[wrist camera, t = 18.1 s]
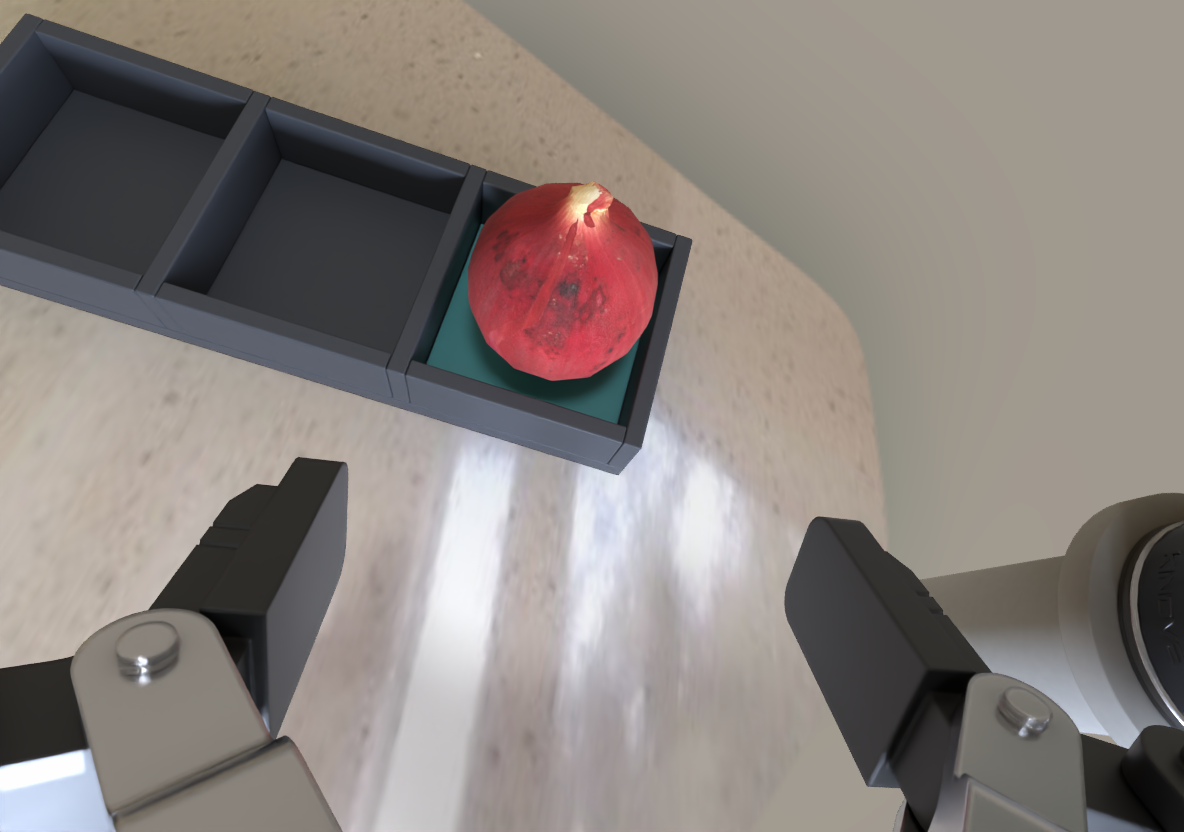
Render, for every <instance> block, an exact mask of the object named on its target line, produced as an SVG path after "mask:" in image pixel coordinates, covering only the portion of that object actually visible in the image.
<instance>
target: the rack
mask: <svg viewBox="0 0 1184 832" xmlns="http://www.w3.org/2000/svg"><path fill="white" fill-rule="evenodd" d="M535 187H536V186H533V185H530V184H527V183H524V182H521V181H518V180H515V179H513V178H510V177H507V176H504V175H501V174H498V173H495V172H492V171H487V170H486V169H483V168H480V167H477V166H474V165H471V166H470V164H468V163H465V162H462V161H459V160H457V159H454V158H451V157H448V156H445V155H442V154H439V153H436V152H433V151H430V150H427V149H424V148H421V147H418V146H415V145H412V144H409V143H406V142H404V141H401V140H398V139H395V138H392V137H389V136H386V135H383V134H380V133H377V132H374V131H371V130H368V129H365V128H362V127H359V126H356V125H353V124H350V123H348V122H345V121H342V120H339V119H336V118H333V117H330V116H327V115H324V114H321V113H318V112H315V111H312V110H309V109H306V108H303V107H300V106H297V105H294V104H292V103H289V102H286V101H283V100H280V99H277V98H274V97H272V98H271V97H270V96H268V95H265V94H262V93H259V92H256V91H253V90H251V89H248V88H245V87H242V86H239V85H237V84H234V83H231V82H228V81H225V80H222V79H219V78H216V77H213V76H210V75H207V74H204V73H201V72H198V71H195V70H192V69H189V68H186V67H184V66H181V65H178V64H175V63H172V62H169V61H166V60H163V59H160V58H157V57H154V56H151V55H148V54H145V53H142V52H139V51H136V50H133V49H130V48H128V47H125V46H122V45H119V44H116V43H113V42H110V41H107V40H104V39H101V38H98V37H95V36H92V35H89V34H86V33H83V32H80V31H77V30H75V29H72V28H69V27H66V26H63V25H60V24H57V23H54V22H51V21H48V20H43V19H42V18H39V17H36V16H33V15H30V14H25V15H24V16H23V17H22V18H21V20H20V21H19V22H18V23H17V25H16V26H15V27H14V28H13V29H12V31H11V32H10V33H9V34H8V36H7V37H6V38H5V39H4V41H3V42H2V43H1V44H0V285H3V286H6V287H9V288H13V289H16V290H19V291H22V292H26V293H29V294H32V295H35V296H39V297H42V298H45V299H48V300H52V301H55V302H58V303H61V304H65V305H68V306H71V307H74V308H78V309H81V310H84V311H87V312H91V313H94V314H97V315H100V316H104V317H107V318H110V319H113V320H117V321H120V322H123V323H126V324H130V325H133V326H136V327H139V328H143V329H146V330H149V331H152V332H155V333H159V334H162V335H165V336H168V337H172V338H175V339H178V340H181V341H185V342H188V343H191V344H194V345H198V346H201V347H204V348H207V349H211V350H214V351H217V352H220V353H224V354H227V355H230V356H233V357H237V358H240V359H243V360H246V361H250V362H253V363H256V364H259V365H263V366H266V367H269V368H272V369H276V370H279V371H282V372H285V373H289V374H292V375H295V376H298V377H302V378H305V379H308V380H311V381H315V382H318V383H321V384H324V385H328V386H331V387H334V388H337V389H341V390H344V391H347V392H350V393H353V394H357V395H360V396H363V397H366V398H370V399H373V400H376V401H379V402H383V403H386V404H389V405H392V406H396V407H399V408H402V409H405V410H409V411H412V412H415V413H418V414H422V415H425V416H428V417H431V418H435V419H438V420H441V421H444V422H448V423H451V424H454V425H457V426H461V427H464V428H467V429H470V430H474V431H477V432H480V433H483V434H487V435H490V436H493V437H496V438H500V439H503V440H506V441H509V442H513V443H516V444H519V445H522V446H526V447H529V448H532V449H535V450H539V451H542V452H545V453H548V454H551V455H555V456H558V457H561V458H564V459H568V460H571V461H574V462H577V463H581V464H584V465H587V466H590V467H594V468H597V469H600V470H603V471H607V472H610V473H613V474H616V475H619V474H620V473H621V471H622V470H623V469H624V468H625V467H626V465H627V464H628V463H629V462H630V461H631V460H632V459H633V457H634V456H635V455H636V454H637V453H638V452H639V450H640V449H641V447H642V443H643V439H644V435H645V431H646V427H647V423H648V419H649V415H650V411H651V407H652V403H653V399H654V395H655V391H656V387H657V383H658V378H659V374H660V370H661V366H662V362H663V358H664V354H665V350H666V346H667V342H668V338H669V334H670V330H671V326H672V322H673V318H674V314H675V310H676V306H677V301H678V297H679V293H680V289H681V285H682V281H683V277H684V273H685V269H686V265H687V261H688V257H689V253H690V249H691V245H692V239H690V238H687V237H684V236H681V235H677V236H676V234H675V233H672V232H669V231H666V230H663V229H660V228H657V227H654V226H651V225H648V224H645V223H642V222H640V223H641V224H642V226H643V227H644V228H645V230H646V231H647V232H648V234H649V236H650V238H651V240H652V244H653V249H654V255H655V261H656V266H657V272H658V285H657V290H656V296H655V301H654V306H653V312H652V316H651V318H650V321H649V323H648V325H647V327H646V328H645V330H644V331H643V333H642V334H641V335H640V337H639V338H638V339H637V341H636V342H635V343H634V345H633V346H632V347H631V349H630V350H629V351H628V353H627V354H626V355H624V356H622V357H621V358H619V359H618V360H616V361H614V362H613V363H611V364H609V365H608V366H606V367H605V368H603V369H601V370H600V371H598V372H597V373H595V374H593V375H592V376H590V377H588V378H577V379H566V380H556V381H551V380H548V379H545V378H542V377H539V376H536V375H533V374H530V373H527V372H524V371H521V370H517V369H514V368H513V367H512V366H511V365H510V364H509V363H508V362H507V361H506V360H505V359H504V358H502V357H501V356H500V355H499V354H498V353H497V352H496V351H495V350H494V349H493V348H492V347H490V346H489V345H488V344H487V343H486V341H485V338H484V336H483V334H482V332H481V330H480V328H479V326H478V324H477V322H476V319H475V317H474V315H473V313H472V310H471V307H470V303H469V298H468V267H469V263H470V259H471V255H472V253H473V250H474V247H475V245H476V242H477V240H478V237H479V234H480V232H481V229H482V228H483V226H484V224H485V223H486V221H487V220H488V218H489V217H490V216H491V215H492V214H494V213H495V212H496V211H497V210H498V209H499V208H500V207H501V206H502V205H503V204H504V203H505V202H506V201H508V200H509V199H510V198H511V197H513V196H514V195H516V194H517V193H520V192H523V191H526V190H529V189H532V188H535Z"/></svg>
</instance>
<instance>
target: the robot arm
mask: <svg viewBox="0 0 1184 832" xmlns="http://www.w3.org/2000/svg"><path fill="white" fill-rule="evenodd" d="M347 501H348V466H347V464H346V463H345V462H337V461H328V460H319V459H311V458H302V457H298V458H296V459H295V461H294V462H293V463H292V465H291V467H290V468H289V470H288V471H287V473H286V474H285V476H284V477H283V479H282V481H281V482H280V484H279V485H278V486H270V485H261V484H256V485H254V486H253V487H251V488H250V489H248V490H246V491H245V492H243V493H241V494H240V495H238V496H236V497H235V498H233V499H231V500H230V501H229V502H228V503H227V504H226V506H225V507H224V508H223V510H222V511H221V513H220V514H219V515H218V517H217V518H216V519H215V521H214V522H213V526H212V527H211V526H210V527H209V529H208V530H207V531H206V533H205V534H204V535H203V537H202V538H201V539H200V544H199V545H196V546H195V548H194V549H193V550H192V552H191V553H190V554H189V556H188V557H187V558H186V560H185V561H184V562H183V564H182V565H181V566H180V568H179V569H178V571H177V572H176V573H175V575H174V576H173V577H172V579H171V580H170V581H169V583H168V584H167V585H166V587H165V588H164V589H163V591H162V592H161V593H160V595H159V596H158V598H157V599H156V600H155V602H154V603H153V604H152V606H151V607H150V608H149V610H147V611H143V612H139V613H135V614H131V615H129V616H126V617H123V618H120V619H118V620H116V621H114V622H112V623H110V624H108V625H106V626H105V627H103V628H101V629H99V630H98V631H97V632H95V633H94V634H93V635H91V636H90V637H89V638H88V639H87V640H86V641H85V642H84V643H83V644H82V645H81V646H80V648H79V649H78V650H77V652H76V653H75V655H74V656H72V657H68V658H64V659H58V660H53V661H47V662H41V663H34V664H27V665H21V666H14V667H8V668H1V669H0V832H342V830H341V828H340V826H339V824H338V822H337V820H336V818H335V816H334V815H333V813H332V811H331V809H330V807H329V805H328V803H327V801H326V800H325V798H324V796H323V794H322V792H321V790H320V788H319V786H318V784H317V783H316V781H315V779H314V777H313V775H312V773H311V771H310V769H309V767H308V766H307V764H306V762H305V760H304V758H303V756H302V754H301V753H300V751H299V749H298V747H297V746H296V745H295V743H294V742H293V741H292V740H291V739H290V738H289V737H288V736H282V737H280V738H278V739H276V737H277V735H278V732H279V730H280V727H281V725H282V722H283V720H284V717H285V715H286V712H287V710H288V707H289V705H290V702H291V700H292V697H293V695H294V692H295V689H296V687H297V684H298V682H299V679H300V677H301V674H302V672H303V669H304V667H305V664H306V662H307V659H308V657H309V654H310V652H311V649H312V647H313V644H314V642H315V639H316V637H317V634H318V632H319V629H320V626H321V624H322V621H323V619H324V616H325V614H326V611H327V609H328V606H329V604H330V601H331V599H332V596H333V594H334V591H335V589H336V586H337V584H338V581H339V578H340V575H341V571H342V567H343V562H344V556H345V549H346V532H347ZM785 612H786V617H787V620H788V622H789V625H790V627H791V629H792V631H793V633H794V635H795V637H796V639H797V641H798V643H799V645H800V648H801V650H802V652H803V654H804V656H805V658H806V660H807V662H808V664H809V666H810V668H811V671H812V673H813V675H814V677H815V679H816V681H817V683H818V685H819V687H820V689H821V691H822V693H823V696H824V698H825V700H826V702H827V704H828V706H829V708H830V710H831V712H832V714H833V716H834V718H835V721H836V722H837V724H838V727H839V729H840V731H841V733H842V735H843V737H844V739H845V741H846V743H847V746H848V747H849V750H850V752H851V754H852V756H853V758H854V760H855V762H856V764H857V766H858V768H859V770H860V773H861V775H862V777H863V779H864V781H865V783H866V785H867V786H868V787H869V786H870V787H889V788H901V790H902V792H903V794H904V796H905V799H904V801H903V803H902V805H901V806H900V808H899V810H898V813H897V815H896V819H895V824H894V828H893V832H1184V521H1179V522H1174V523H1169V524H1165V525H1162V526H1159V527H1157V528H1155V529H1153V530H1151V531H1150V532H1148V533H1147V534H1146V535H1144V536H1143V537H1142V538H1141V539H1140V540H1139V541H1138V542H1137V543H1136V544H1135V546H1134V547H1133V548H1132V550H1131V551H1130V553H1129V555H1128V557H1127V559H1126V561H1125V563H1124V566H1123V569H1122V572H1121V576H1120V581H1119V587H1118V619H1119V625H1120V631H1121V635H1122V640H1123V644H1124V647H1125V650H1126V653H1127V656H1128V659H1129V661H1130V664H1131V666H1132V669H1133V671H1134V673H1135V675H1136V677H1137V679H1138V681H1139V683H1140V684H1141V686H1142V688H1143V690H1144V692H1145V693H1146V695H1147V696H1148V698H1149V699H1150V701H1151V702H1152V704H1153V705H1154V706H1155V708H1156V709H1157V710H1158V712H1159V713H1160V714H1161V715H1162V717H1163V718H1164V719H1165V720H1166V721H1167V722H1168V723H1169V725H1170V726H1171V727H1167V726H1160V725H1153V726H1148V727H1146V728H1144V729H1143V731H1142V732H1141V733H1140V735H1139V736H1138V737H1137V739H1136V740H1135V742H1134V743H1133V744H1132V746H1131V747H1130V748H1129V749H1127V748H1123V747H1120V746H1117V745H1114V744H1111V743H1108V742H1105V741H1102V740H1099V739H1095V738H1092V737H1089V736H1086V735H1083V734H1080V733H1079V731H1078V728H1077V727H1076V725H1075V724H1074V722H1073V721H1072V719H1071V718H1070V717H1069V716H1068V714H1067V713H1066V712H1065V711H1064V710H1063V709H1062V708H1061V707H1060V706H1059V705H1057V704H1056V703H1055V702H1054V701H1053V700H1052V699H1050V698H1049V697H1047V696H1046V695H1045V694H1043V693H1042V692H1040V691H1039V690H1037V689H1035V688H1034V687H1032V686H1030V685H1028V684H1026V683H1024V682H1022V681H1020V680H1017V679H1015V678H1012V677H1009V676H1006V675H1002V674H998V673H992V672H991V671H990V669H989V668H988V667H987V665H986V664H985V663H984V662H983V660H982V659H981V658H980V657H979V655H978V654H977V653H976V652H975V650H974V649H973V648H972V646H971V645H970V644H969V643H968V641H967V640H966V639H965V638H964V636H963V635H962V634H961V632H960V631H959V630H958V629H957V627H956V626H955V625H954V624H953V622H952V621H951V620H950V619H949V617H948V616H947V615H943V610H942V608H941V607H940V606H939V605H938V603H937V602H936V601H935V599H934V598H933V597H929V592H928V591H927V589H926V588H925V587H924V586H923V584H922V583H921V582H920V580H919V579H918V578H917V577H916V576H915V574H914V573H913V572H912V571H911V570H910V569H909V568H907V567H906V566H905V565H903V564H902V563H901V562H899V561H898V560H897V559H896V558H894V557H893V556H892V555H891V554H889V553H888V552H886V551H884V550H883V549H882V547H881V546H880V545H879V543H878V542H877V541H876V539H875V538H874V537H873V535H872V534H871V533H870V531H869V530H868V529H867V528H866V526H865V525H864V524H863V523H862V522H860V521H856V520H847V519H838V518H829V517H816V518H814V519H813V520H812V522H811V523H810V525H809V527H808V529H807V532H806V534H805V537H804V540H803V543H802V545H801V548H800V551H799V553H798V556H797V559H796V561H795V564H794V567H793V570H792V572H791V575H790V578H789V580H788V583H787V586H786V591H785Z"/></svg>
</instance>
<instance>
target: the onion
mask: <svg viewBox="0 0 1184 832" xmlns="http://www.w3.org/2000/svg"><path fill="white" fill-rule="evenodd" d="M657 285H658V272H657V266H656V261H655V255H654V249H653V244H652V240H651V238H650V236H649V234H648V232H647V231H646V230H645V228H644V227H643V226H642V224H641V223H640V222H639V220H638V219H637V218H636V216H635V215H634V214H633V213H632V211H631V210H630V209H629V208H628V207H627V206H625V205H624V204H623V203H621V202H620V201H618V200H616V199H615V198H614V197H612V195H611V194H610V193H609V191H608V190H607V189H606V188H604V187H603V186H601V185H600V184H598V183H596V182H594V181H593V182H590V183H588V184H585V185H584V184H581V183H552V184H545V185H541V186H538V187H535V188H532V189H529V190H526V191H523V192H520V193H517V194H516V195H514V196H513V197H511V198H510V199H509V200H508V201H506V202H505V203H504V204H503V205H502V206H501V207H500V208H499V209H498V210H497V211H496V212H495V213H494V214H492V215H491V216H490V217H489V218H488V220H487V221H486V223H485V224H484V226H483V228H482V229H481V232H480V234H479V237H478V240H477V242H476V245H475V247H474V250H473V253H472V255H471V259H470V263H469V267H468V298H469V303H470V307H471V310H472V313H473V315H474V317H475V319H476V322H477V324H478V326H479V328H480V330H481V332H482V334H483V336H484V338H485V341H486V343H487V344H488V345H489V346H490V347H492V348H493V349H494V350H495V351H496V352H497V353H498V354H499V355H500V356H501V357H502V358H504V359H505V360H506V361H507V362H508V363H509V364H510V365H511V366H512V367H513V368H514V369H517V370H521V371H524V372H527V373H530V374H533V375H536V376H539V377H542V378H545V379H548V380H551V381H556V380H566V379H577V378H588V377H590V376H592V375H593V374H595V373H597V372H598V371H600V370H601V369H603V368H605V367H606V366H608V365H609V364H611V363H613V362H614V361H616V360H618V359H619V358H621V357H622V356H624V355H626V354H627V353H628V351H629V350H630V349H631V347H632V346H633V345H634V343H635V342H636V341H637V339H638V338H639V337H640V335H641V334H642V333H643V331H644V330H645V328H646V327H647V325H648V323H649V321H650V318H651V316H652V312H653V306H654V301H655V296H656V290H657Z"/></svg>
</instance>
